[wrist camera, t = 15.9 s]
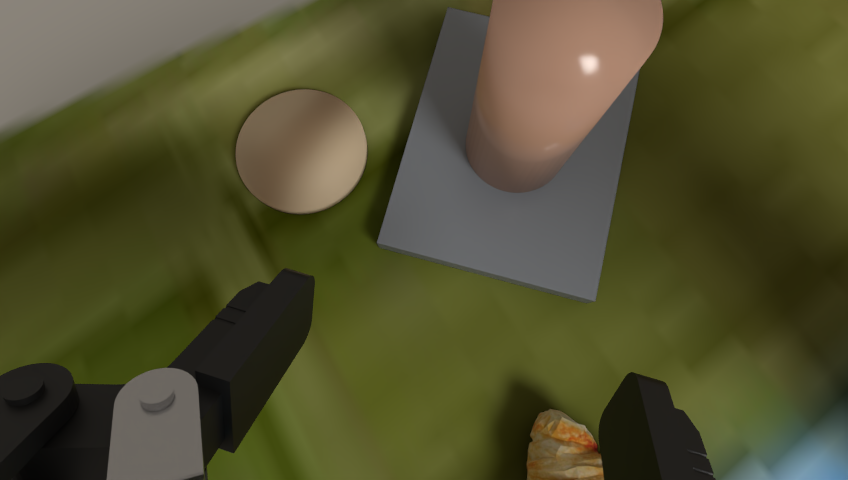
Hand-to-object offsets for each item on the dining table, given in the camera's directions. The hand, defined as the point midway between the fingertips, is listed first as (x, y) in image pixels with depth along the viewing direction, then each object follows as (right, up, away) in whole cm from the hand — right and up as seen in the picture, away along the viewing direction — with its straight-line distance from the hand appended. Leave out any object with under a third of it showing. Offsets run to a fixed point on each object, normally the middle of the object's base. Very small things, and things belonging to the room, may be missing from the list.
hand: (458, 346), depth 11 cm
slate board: (+4, +7, +13) cm, 16 cm away
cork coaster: (-7, +7, +14) cm, 17 cm away
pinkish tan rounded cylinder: (+4, +8, +12) cm, 15 cm away
